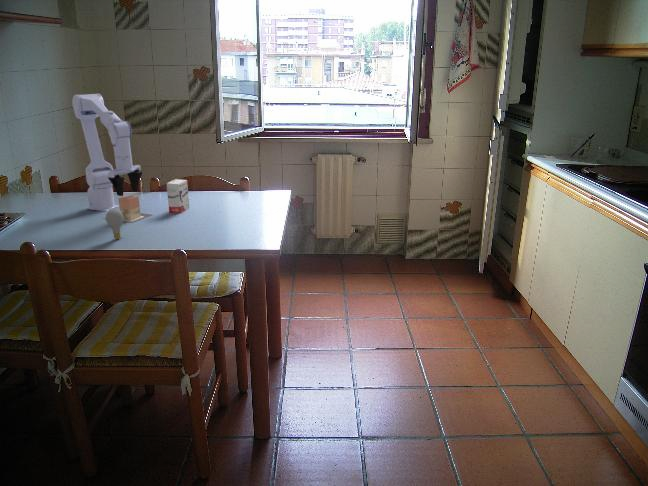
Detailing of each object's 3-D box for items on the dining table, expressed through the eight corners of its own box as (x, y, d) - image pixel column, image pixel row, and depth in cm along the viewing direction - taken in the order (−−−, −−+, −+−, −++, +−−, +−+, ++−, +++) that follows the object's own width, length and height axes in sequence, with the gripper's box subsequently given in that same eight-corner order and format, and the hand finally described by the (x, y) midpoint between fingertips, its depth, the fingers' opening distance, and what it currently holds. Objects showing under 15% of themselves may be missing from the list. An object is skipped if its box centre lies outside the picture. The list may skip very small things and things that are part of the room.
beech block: (120, 219, 200) (119, 208, 199) (130, 215, 205) (129, 205, 203) (131, 220, 198) (130, 209, 197) (140, 217, 203) (139, 206, 202)
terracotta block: (119, 208, 199) (118, 198, 198) (129, 205, 203) (127, 195, 202) (130, 209, 197) (128, 199, 196) (139, 206, 202) (138, 196, 200)
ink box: (180, 214, 207) (177, 184, 204) (168, 213, 208) (165, 183, 204) (190, 208, 215) (187, 179, 212) (178, 207, 216) (176, 178, 213)
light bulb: (111, 236, 181) (107, 207, 178) (128, 236, 181) (124, 207, 178) (106, 242, 176) (102, 212, 173) (123, 241, 176) (120, 211, 173)
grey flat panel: (102, 219, 201) (102, 219, 200) (125, 211, 211) (125, 211, 211) (132, 223, 195) (132, 223, 195) (154, 215, 206) (154, 214, 206)
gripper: (117, 160, 186) (122, 198, 191) (145, 153, 199) (149, 190, 203) (101, 159, 189) (106, 196, 193) (130, 152, 202) (134, 188, 206)
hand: (127, 193), depth 199 cm, fingers open, 7 cm apart
